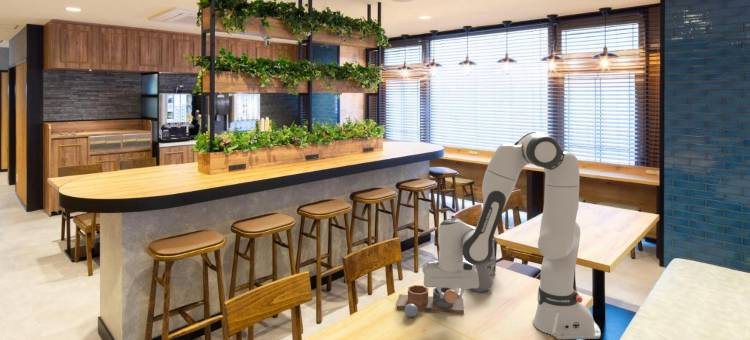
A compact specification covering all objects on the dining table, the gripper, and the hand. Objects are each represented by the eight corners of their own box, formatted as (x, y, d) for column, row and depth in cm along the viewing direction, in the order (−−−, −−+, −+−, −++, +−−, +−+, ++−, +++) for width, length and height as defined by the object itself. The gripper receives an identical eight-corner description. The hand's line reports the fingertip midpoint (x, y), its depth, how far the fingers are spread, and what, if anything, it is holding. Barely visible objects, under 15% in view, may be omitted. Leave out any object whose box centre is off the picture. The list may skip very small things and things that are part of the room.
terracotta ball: (457, 299, 169) (457, 287, 168) (458, 305, 164) (458, 292, 163) (444, 299, 170) (444, 286, 169) (444, 305, 165) (444, 292, 164)
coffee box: (495, 275, 209) (497, 241, 207) (481, 274, 210) (483, 241, 207) (492, 267, 218) (494, 235, 215) (479, 267, 219) (480, 235, 216)
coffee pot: (472, 295, 189) (473, 261, 186) (461, 283, 200) (462, 251, 197) (518, 290, 193) (520, 257, 190) (505, 280, 204) (507, 248, 201)
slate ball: (417, 313, 173) (418, 301, 172) (417, 320, 168) (417, 307, 167) (405, 312, 174) (405, 300, 173) (403, 319, 169) (403, 306, 168)
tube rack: (463, 302, 182) (463, 287, 181) (463, 314, 173) (464, 298, 172) (399, 297, 186) (399, 283, 185) (396, 309, 177) (396, 293, 176)
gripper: (421, 265, 163) (422, 301, 165) (479, 266, 160) (479, 302, 162) (422, 259, 169) (423, 293, 171) (478, 259, 166) (478, 295, 168)
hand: (451, 298), depth 167 cm, fingers closed on terracotta ball, 5 cm apart
